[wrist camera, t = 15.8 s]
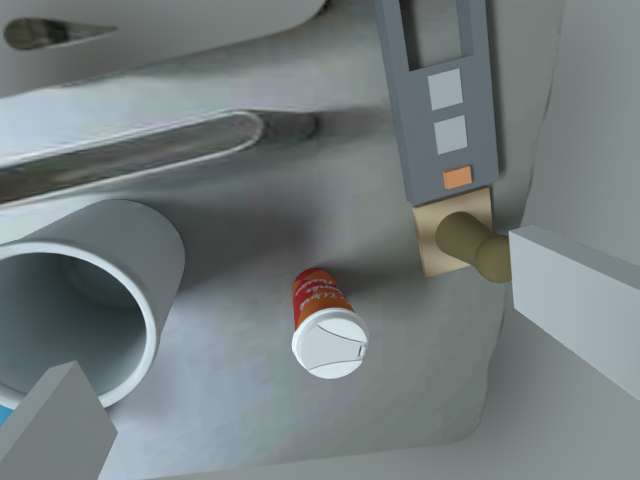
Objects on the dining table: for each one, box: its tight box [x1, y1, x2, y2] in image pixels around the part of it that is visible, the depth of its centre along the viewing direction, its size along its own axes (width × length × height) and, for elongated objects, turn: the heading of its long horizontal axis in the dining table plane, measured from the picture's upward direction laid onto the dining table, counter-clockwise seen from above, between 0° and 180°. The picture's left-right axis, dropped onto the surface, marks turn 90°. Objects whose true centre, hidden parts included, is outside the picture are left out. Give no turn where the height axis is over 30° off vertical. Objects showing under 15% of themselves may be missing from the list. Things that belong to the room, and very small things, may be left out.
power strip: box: [373, 0, 499, 205], centre depth 41 cm, size 31×11×3 cm, turn 14°
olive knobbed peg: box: [435, 211, 512, 283], centre depth 44 cm, size 6×6×11 cm
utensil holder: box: [0, 200, 185, 410], centre depth 36 cm, size 15×15×18 cm
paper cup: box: [292, 269, 369, 379], centre depth 43 cm, size 8×8×14 cm
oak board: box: [412, 186, 493, 278], centre depth 50 cm, size 10×10×1 cm
